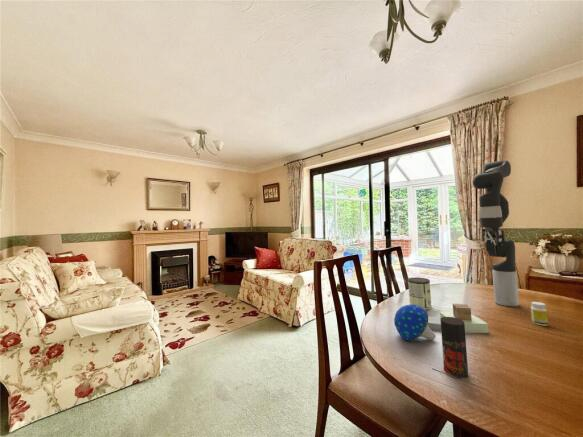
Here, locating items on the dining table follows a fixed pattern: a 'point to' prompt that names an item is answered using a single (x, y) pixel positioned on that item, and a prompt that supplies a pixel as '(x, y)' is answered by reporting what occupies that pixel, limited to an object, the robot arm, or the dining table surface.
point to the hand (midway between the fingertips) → (493, 252)
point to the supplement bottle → (539, 314)
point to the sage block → (470, 323)
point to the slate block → (434, 323)
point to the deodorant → (454, 347)
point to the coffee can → (420, 292)
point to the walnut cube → (462, 311)
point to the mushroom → (413, 323)
